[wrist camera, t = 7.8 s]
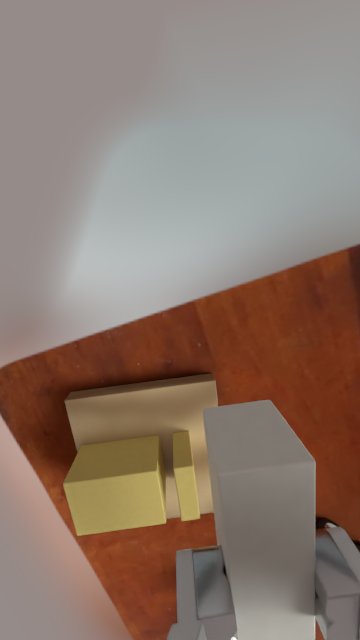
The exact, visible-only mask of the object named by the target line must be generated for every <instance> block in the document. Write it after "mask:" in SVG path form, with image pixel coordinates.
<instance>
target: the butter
mask: <svg viewBox="0 0 360 640" xmlns="http://www.w3.org/2000/svg"><path fill="white" fill-rule="evenodd" d="M166 485H167V480H166V474H165V468H164V462H163V456H162V450H161V444H160V438H159V435H155V436H148V437H141V438H133V439H126V440H119V441H111V442H104V443H97V444H89V445H82V446H81V447H80V449H79V451H78V453H77V455H76V457H75V460H74V462H73V464H72V466H71V468H70V470H69V472H68V474H67V476H66V478H65V480H64V482H63V486H64V490H65V494H66V497H67V501H68V504H69V508H70V512H71V515H72V519H73V522H74V526H75V529H76V533H77V536H80V535H87V534H94V533H101V532H108V531H115V530H122V529H129V528H137V527H144V526H151V525H158V524H165V523H166Z"/></svg>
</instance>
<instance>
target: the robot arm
mask: <svg viewBox="0 0 360 640" xmlns="http://www.w3.org/2000/svg"><path fill="white" fill-rule="evenodd" d="M176 582H177V623H175V624H172V626H171V629H170V631H169V634H168V636H167V639H166V640H238V636H237V623H236V615H235V609H234V603H233V598H232V592H231V587H230V583H229V581H228V578H227V577H226V570H225V562H224V556H223V551H222V546H221V545H215V546H208V547H201V548H194V549H192V548H191V549H185V550H179V551H177V552H176ZM315 618H316V620H317V622H318V625H319V627H320V630H321V632H322V634H323V637H324V639H325V640H360V552H359V551H358V549H357V548H356V546H355V545H354V543H353V542H352V540H351V539H350V537H349V536H348V534H347V533H346V531H345V530H344V529H343V528H342V527H333V528H327V529H318V530H315Z"/></svg>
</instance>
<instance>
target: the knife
mask: <svg viewBox="0 0 360 640" xmlns="http://www.w3.org/2000/svg"><path fill="white" fill-rule="evenodd" d="M202 412H203V421H204V430H205V438H206V447H207V456H208V465H209V473H210V482H211V491H212V500H213V508H214V517H215V526H216V534H217V543H218V545H221V546H222V551H223V556H224V562H225V570H226V577H227V578H228V581H229V583H230V587H231V592H232V598H233V603H234V609H235V615H236V623H237V636H238V640H315V505H316V463H315V460H314V458H313V457H312V456H311V454H310V453H309V452H308V450H307V449H306V447H305V446H304V445H303V443H302V442H301V441H300V439H299V438H298V437H297V435H296V434H295V433H294V431H293V430H292V429H291V427H290V426H289V424H288V423H287V422H286V420H285V419H284V418H283V416H282V415H281V414H280V412H279V411H278V410H277V408H276V407H275V406H274V404H273V403H272V401H271V400H262V401H255V402H248V403H240V404H233V405H225V406H218V407H210V408H204V409H203V411H202Z"/></svg>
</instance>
